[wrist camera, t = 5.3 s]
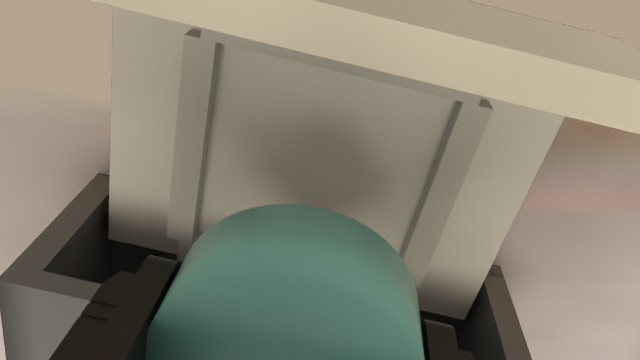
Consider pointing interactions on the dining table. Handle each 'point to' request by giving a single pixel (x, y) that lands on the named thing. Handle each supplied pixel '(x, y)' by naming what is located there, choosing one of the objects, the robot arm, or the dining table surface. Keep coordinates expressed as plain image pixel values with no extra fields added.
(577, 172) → the dining table surface
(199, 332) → the disc
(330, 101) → the tray
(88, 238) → the player housing
